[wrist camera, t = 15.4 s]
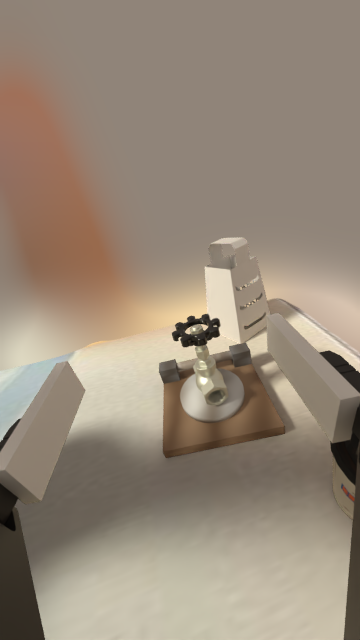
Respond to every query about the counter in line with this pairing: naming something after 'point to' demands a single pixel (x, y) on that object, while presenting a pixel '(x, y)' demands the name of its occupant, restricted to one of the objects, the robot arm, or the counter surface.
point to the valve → (203, 357)
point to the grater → (235, 291)
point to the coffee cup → (345, 473)
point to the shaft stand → (215, 406)
